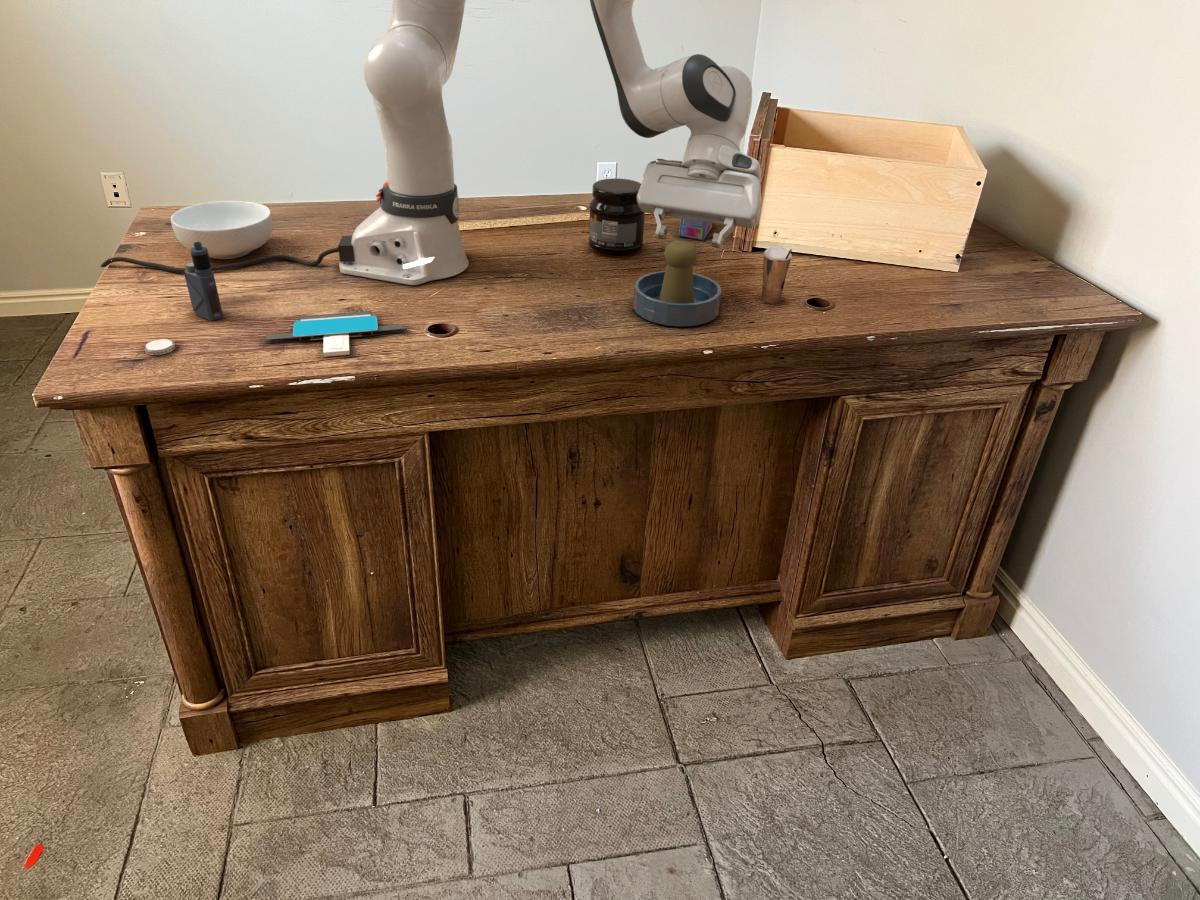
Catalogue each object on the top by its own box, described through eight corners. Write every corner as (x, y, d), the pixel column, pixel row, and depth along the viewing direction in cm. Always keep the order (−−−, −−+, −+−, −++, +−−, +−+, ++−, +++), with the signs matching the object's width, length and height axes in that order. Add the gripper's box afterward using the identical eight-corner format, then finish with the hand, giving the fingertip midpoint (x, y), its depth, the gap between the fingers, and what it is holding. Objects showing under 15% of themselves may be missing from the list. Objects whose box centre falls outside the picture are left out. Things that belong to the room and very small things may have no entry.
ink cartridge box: (705, 241, 169) (713, 166, 161) (677, 237, 170) (684, 163, 162) (714, 225, 177) (722, 153, 169) (688, 222, 178) (695, 150, 170)
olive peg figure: (692, 317, 138) (698, 252, 132) (655, 313, 139) (659, 248, 133) (696, 302, 143) (702, 239, 137) (660, 298, 144) (665, 235, 138)
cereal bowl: (274, 266, 151) (267, 227, 147) (172, 272, 147) (162, 232, 144) (280, 233, 165) (273, 196, 161) (187, 238, 161) (178, 200, 157)
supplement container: (630, 236, 170) (634, 175, 163) (651, 255, 161) (656, 191, 155) (580, 241, 166) (581, 179, 160) (599, 261, 158) (601, 196, 152)
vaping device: (212, 322, 132) (195, 247, 125) (190, 314, 134) (172, 239, 127) (227, 316, 133) (210, 242, 127) (205, 308, 136) (187, 235, 129)
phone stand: (263, 362, 122) (261, 351, 121) (268, 326, 131) (266, 316, 130) (407, 350, 126) (406, 339, 125) (401, 316, 136) (400, 306, 135)
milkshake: (770, 309, 143) (779, 251, 137) (751, 296, 147) (759, 240, 141) (792, 304, 144) (802, 247, 139) (773, 292, 148) (782, 236, 143)
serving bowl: (629, 324, 136) (630, 300, 134) (637, 289, 148) (638, 267, 145) (717, 331, 135) (720, 308, 133) (719, 296, 146) (721, 274, 144)
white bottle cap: (141, 355, 122) (140, 351, 121) (148, 343, 125) (147, 339, 125) (171, 354, 122) (170, 350, 122) (178, 341, 126) (177, 337, 125)
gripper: (645, 147, 141) (623, 223, 138) (768, 162, 135) (747, 242, 133) (651, 167, 147) (630, 241, 144) (770, 183, 141) (750, 260, 139)
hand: (687, 241), depth 139 cm, fingers open, 8 cm apart
